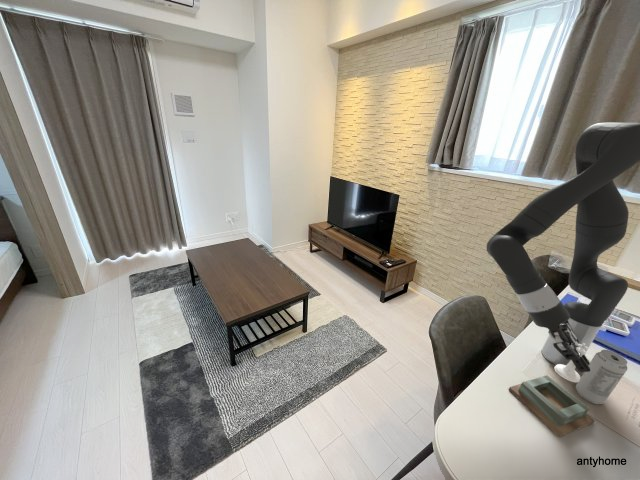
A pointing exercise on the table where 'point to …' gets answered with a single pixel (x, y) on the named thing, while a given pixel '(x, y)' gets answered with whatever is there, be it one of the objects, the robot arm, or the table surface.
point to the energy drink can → (601, 376)
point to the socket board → (546, 420)
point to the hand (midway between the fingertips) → (584, 367)
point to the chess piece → (570, 367)
